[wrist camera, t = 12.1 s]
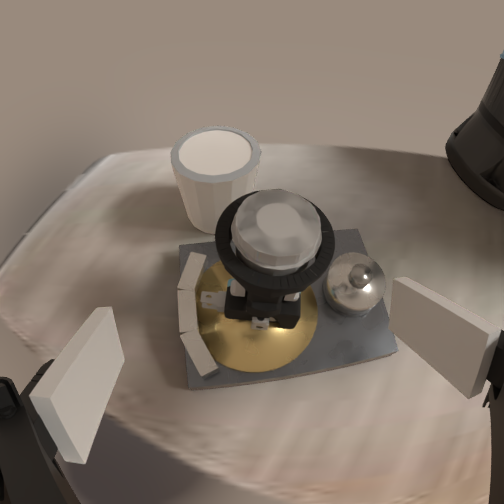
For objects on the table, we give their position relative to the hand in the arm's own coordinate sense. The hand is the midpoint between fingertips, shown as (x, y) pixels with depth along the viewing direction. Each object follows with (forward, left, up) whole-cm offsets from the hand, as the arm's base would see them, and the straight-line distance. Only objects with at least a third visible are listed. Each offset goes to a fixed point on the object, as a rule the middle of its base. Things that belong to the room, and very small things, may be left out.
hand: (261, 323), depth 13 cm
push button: (0, -3, -7) cm, 8 cm away
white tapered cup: (+1, -14, -9) cm, 17 cm away
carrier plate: (-3, -4, -9) cm, 10 cm away
